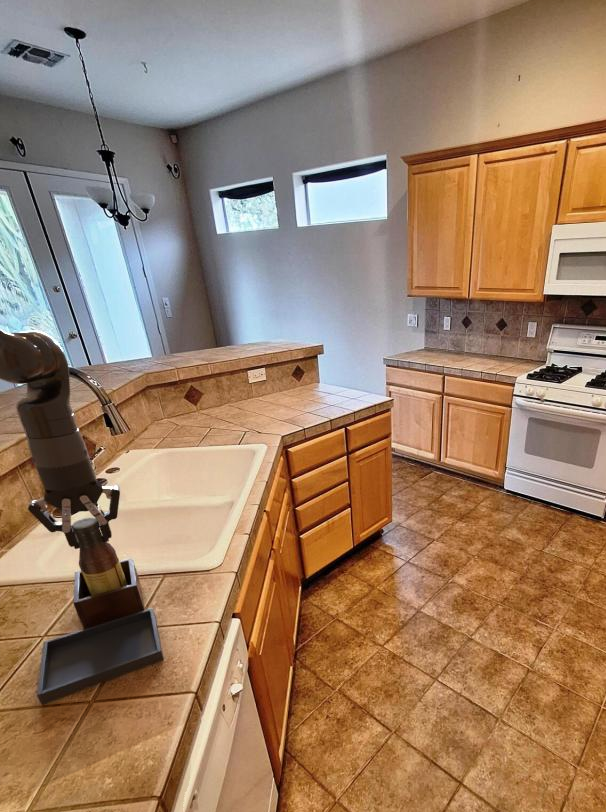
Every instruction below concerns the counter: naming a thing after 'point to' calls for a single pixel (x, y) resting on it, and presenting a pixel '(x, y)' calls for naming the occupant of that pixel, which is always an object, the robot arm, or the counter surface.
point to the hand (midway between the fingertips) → (92, 542)
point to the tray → (98, 655)
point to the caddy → (108, 598)
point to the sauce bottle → (97, 558)
